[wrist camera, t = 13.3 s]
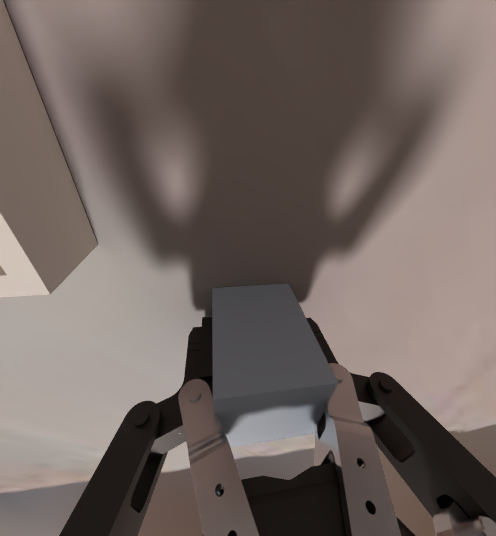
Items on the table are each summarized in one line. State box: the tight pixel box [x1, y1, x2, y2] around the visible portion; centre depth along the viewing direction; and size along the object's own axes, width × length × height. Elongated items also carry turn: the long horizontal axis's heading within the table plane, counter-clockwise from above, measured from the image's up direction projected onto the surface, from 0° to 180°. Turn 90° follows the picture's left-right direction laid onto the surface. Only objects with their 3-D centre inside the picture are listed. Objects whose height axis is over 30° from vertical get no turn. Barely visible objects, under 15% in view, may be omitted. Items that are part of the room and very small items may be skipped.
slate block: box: [212, 283, 338, 448], centre depth 11 cm, size 4×4×6 cm
